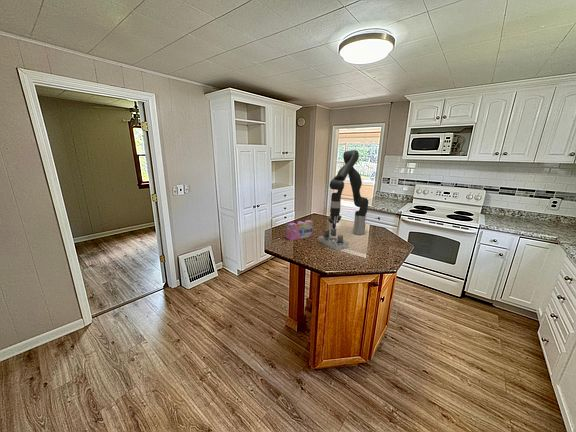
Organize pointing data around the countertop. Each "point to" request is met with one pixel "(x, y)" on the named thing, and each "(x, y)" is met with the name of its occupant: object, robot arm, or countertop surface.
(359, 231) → the robot arm
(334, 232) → the knob mid
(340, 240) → the knob
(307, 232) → the gum box
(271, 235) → the countertop surface
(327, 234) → the knob
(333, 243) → the mount plate
